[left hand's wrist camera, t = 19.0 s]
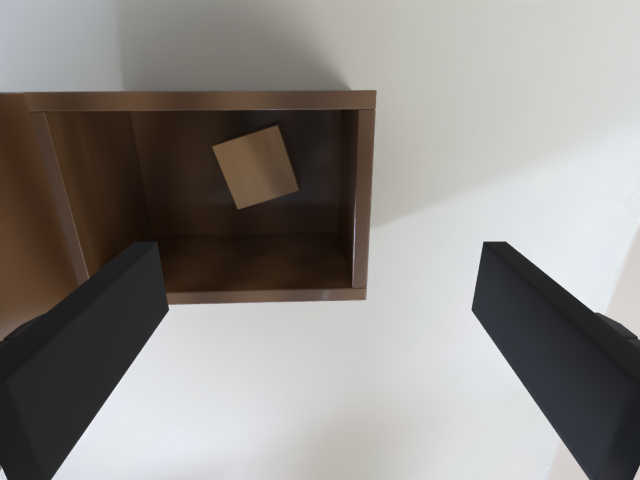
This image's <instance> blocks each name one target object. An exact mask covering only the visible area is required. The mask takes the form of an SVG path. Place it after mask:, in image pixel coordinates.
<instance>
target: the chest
mask: <svg viewBox="0 0 640 480" xmlns="http://www.w3.org/2000/svg"><path fill="white" fill-rule="evenodd" d="M23 93H24V94H25V98H26V101H27V105H28V108H29V112H30V115H31V119H32V122H33V126H34V129H35V133H36V136H37V140H38V143H39V147H40V151H41V154H42V158H43V161H44V165H45V168H46V172H47V175H48V179H49V182H50V186H51V189H52V193H53V196H54V200H55V203H56V207H57V211H58V214H59V218H60V221H61V225H62V228H63V232H64V235H65V239H66V242H67V246H68V249H69V253H70V256H71V260H72V263H73V267H74V271H75V274H76V278H77V281H78V285H79V286H80V285H81V284H83V283H84V282H85V281H86V280H88V279H89V278H90V277H91V276H93V275H94V274H95V273H96V272H98V271H99V270H100V269H101V268H103V267H104V266H105V265H106V264H108V263H109V262H110V261H111V260H113V259H114V258H115V257H116V256H118V255H119V254H120V253H121V252H122V251H124V250H125V249H126V248H127V247H129V246H130V245H131V244H132V243H134V242H157V245H158V250H159V256H160V262H161V267H162V273H163V279H164V284H165V290H166V296H167V301H168V305H179V304H221V303H263V302H305V301H347V300H366V292H367V288H366V287H367V273H368V253H369V232H370V212H371V191H372V171H373V150H374V130H375V108H376V90H300V91H103V92H23ZM279 120H282V122H283V125H284V128H285V131H286V134H287V137H288V140H289V143H290V146H291V149H292V152H293V155H294V158H295V161H296V164H297V167H298V170H299V173H300V190H299V191H297V192H293V193H290V194H287V195H284V196H280V197H277V198H274V199H271V200H268V201H264V202H261V203H258V204H255V205H252V206H248V207H245V208H242V209H239V210H238V209H237V206H236V204H235V202H234V199H233V197H232V194H231V192H230V189H229V187H228V185H227V182H226V180H225V177H224V175H223V172H222V170H221V168H220V165H219V163H218V160H217V158H216V155H215V153H214V151H213V148H212V146H213V145H215V144H216V143H218V142H220V141H221V140H223V139H225V138H227V137H230V136H233V135H236V134H239V133H242V132H245V131H248V130H251V129H254V128H257V127H260V126H263V125H267V124H270V123H273V122H276V121H279Z"/></svg>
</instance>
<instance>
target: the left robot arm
mask: <svg viewBox="0 0 640 480" xmlns="http://www.w3.org/2000/svg"><path fill="white" fill-rule="evenodd" d="M168 311H169V307H168V301H167V296H166V290H165V284H164V279H163V273H162V267H161V262H160V256H159V250H158V245H157V242H134V243H132V244H131V245H130V246H129V247H127V248H126V249H125V250H124V251H122V252H121V253H120V254H119V255H118V256H116V257H115V258H114V259H113V260H111V261H110V262H109V263H108V264H106V265H105V266H104V267H103V268H101V269H100V270H99V271H98V272H96V273H95V274H94V275H93V276H91V277H90V278H89V279H88V280H86V281H85V282H84V283H83V284H81V285H80V286H79V287H78V288H77V289H75V290H74V291H73V292H72V293H70V294H69V295H68V296H67V297H65V298H64V299H63V300H62V301H60V302H59V303H58V304H57V305H55V306H54V307H53V308H52V309H50V310H49V311H48V312H47V313H45V314H41V315H39V316H37V317H35V318H34V319H32V320H30V321H28V322H26V323H24V324H22V325H20V326H19V327H17V328H16V329H15V330H14V331H12V332H11V333H10V334H8V335H7V336H6V337H5V338H4V340H3V341H0V466H2V468H3V471H4V473H5V475H6V477H7V479H8V480H51V479H52V478H53V476H54V475H55V473H56V472H57V470H58V469H59V467H60V466H61V465H62V463H63V462H64V460H65V459H66V457H67V456H68V455H69V453H70V452H71V450H72V449H73V447H74V446H75V444H76V443H77V442H78V440H79V439H80V437H81V436H82V434H83V433H84V432H85V430H86V429H87V427H88V426H89V424H90V423H91V421H92V420H93V419H94V417H95V416H96V414H97V413H98V411H99V410H100V409H101V407H102V406H103V404H104V403H105V401H106V400H107V398H108V397H109V396H110V394H111V393H112V391H113V390H114V388H115V387H116V386H117V384H118V383H119V381H120V380H121V378H122V377H123V375H124V374H125V373H126V371H127V370H128V368H129V367H130V365H131V364H132V362H133V361H134V360H135V358H136V357H137V355H138V354H139V352H140V351H141V350H142V348H143V347H144V345H145V344H146V342H147V341H148V339H149V338H150V337H151V335H152V334H153V332H154V331H155V329H156V328H157V327H158V325H159V324H160V322H161V321H162V319H163V318H164V316H165V315H166V314H167V312H168ZM472 311H473V313H474V314H475V316H476V317H477V319H478V320H479V321H480V323H481V324H482V326H483V327H484V329H485V330H486V332H487V333H488V334H489V336H490V337H491V339H492V340H493V342H494V343H495V344H496V346H497V347H498V349H499V350H500V352H501V353H502V355H503V356H504V357H505V359H506V360H507V362H508V363H509V365H510V366H511V367H512V369H513V370H514V372H515V373H516V375H517V376H518V378H519V379H520V380H521V382H522V383H523V385H524V386H525V388H526V389H527V390H528V392H529V393H530V395H531V396H532V398H533V399H534V401H535V402H536V403H537V405H538V406H539V408H540V409H541V411H542V412H543V413H544V415H545V416H546V418H547V419H548V421H549V422H550V424H551V425H552V426H553V428H554V429H555V431H556V432H557V434H558V435H559V436H560V438H561V439H562V441H563V442H564V444H565V445H566V447H567V448H568V449H569V451H570V452H571V454H572V455H573V457H574V458H575V459H576V461H577V462H578V464H579V465H580V467H581V468H582V470H583V471H584V472H585V474H586V475H587V477H588V478H589V480H633V479H634V477H635V475H636V472H637V470H638V468H639V466H640V340H638V337H637V336H636V335H634V334H633V333H632V332H631V331H629V330H628V329H627V328H625V327H624V326H623V325H622V324H620V323H618V322H616V321H614V320H612V319H610V318H608V317H606V316H604V315H602V314H600V313H594V312H593V311H591V310H590V309H589V308H588V307H586V306H585V305H584V304H583V303H581V302H580V301H579V300H578V299H577V298H575V297H574V296H573V295H572V294H570V293H569V292H568V291H567V290H565V289H564V288H563V287H562V286H560V285H559V284H558V283H557V282H555V281H554V280H553V279H552V278H550V277H549V276H548V275H547V274H545V273H544V272H543V271H542V270H540V269H539V268H538V267H537V266H535V265H534V264H533V263H532V262H530V261H529V260H528V259H527V258H526V257H524V256H523V255H522V254H521V253H519V252H518V251H517V250H516V249H514V248H513V247H512V246H511V245H509V244H508V243H507V242H483V248H482V254H481V259H480V265H479V271H478V276H477V282H476V288H475V293H474V299H473V304H472Z"/></svg>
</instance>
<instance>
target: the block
mask: <svg viewBox="0 0 640 480" xmlns="http://www.w3.org/2000/svg"><path fill="white" fill-rule="evenodd" d="M212 148H213V151H214V153H215V155H216V158H217V160H218V163H219V165H220V168H221V170H222V172H223V175H224V177H225V180H226V182H227V185H228V187H229V189H230V192H231V194H232V197H233V199H234V202H235V204H236V206H237V209H238V210H239V209H242V208H245V207H248V206H252V205H255V204H258V203H261V202H264V201H268V200H271V199H274V198H277V197H280V196H284V195H287V194H290V193H293V192H297V191H299V190H300V173H299V170H298V167H297V164H296V161H295V158H294V155H293V152H292V149H291V146H290V143H289V140H288V137H287V134H286V131H285V128H284V125H283V122H282V120H279V121H276V122H273V123H270V124H267V125H263V126H260V127H257V128H254V129H251V130H248V131H245V132H242V133H239V134H236V135H233V136H230V137H227V138H225V139H223V140H221V141H220V142H218V143H216V144H215V145H213V146H212Z"/></svg>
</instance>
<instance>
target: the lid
mask: <svg viewBox="0 0 640 480" xmlns="http://www.w3.org/2000/svg"><path fill="white" fill-rule="evenodd" d="M78 287H79V285H78V281H77V278H76V274H75V271H74V267H73V263H72V260H71V256H70V253H69V249H68V246H67V242H66V239H65V235H64V232H63V228H62V225H61V221H60V218H59V214H58V211H57V207H56V203H55V200H54V196H53V193H52V189H51V186H50V182H49V179H48V175H47V172H46V168H45V165H44V161H43V158H42V154H41V151H40V147H39V143H38V140H37V136H36V133H35V129H34V126H33V122H32V119H31V115H30V112H29V108H28V105H27V101H26V98H25V94H24V93H23V92H0V341H3V340H4V338H5V337H6V336H7V335H8V334H10V333H11V332H12V331H14V330H15V329H16V328H17V327H19V326H20V325H22V324H24V323H26V322H28V321H30V320H32V319H34V318H35V317H37V316H39V315H41V314H45V313H47V312H48V311H49V310H50V309H52V308H53V307H54V306H55V305H57V304H58V303H59V302H60V301H62V300H63V299H64V298H65V297H67V296H68V295H69V294H70V293H72V292H73V291H74V290H75V289H77V288H78ZM1 468H2V466H0V470H1Z"/></svg>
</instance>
